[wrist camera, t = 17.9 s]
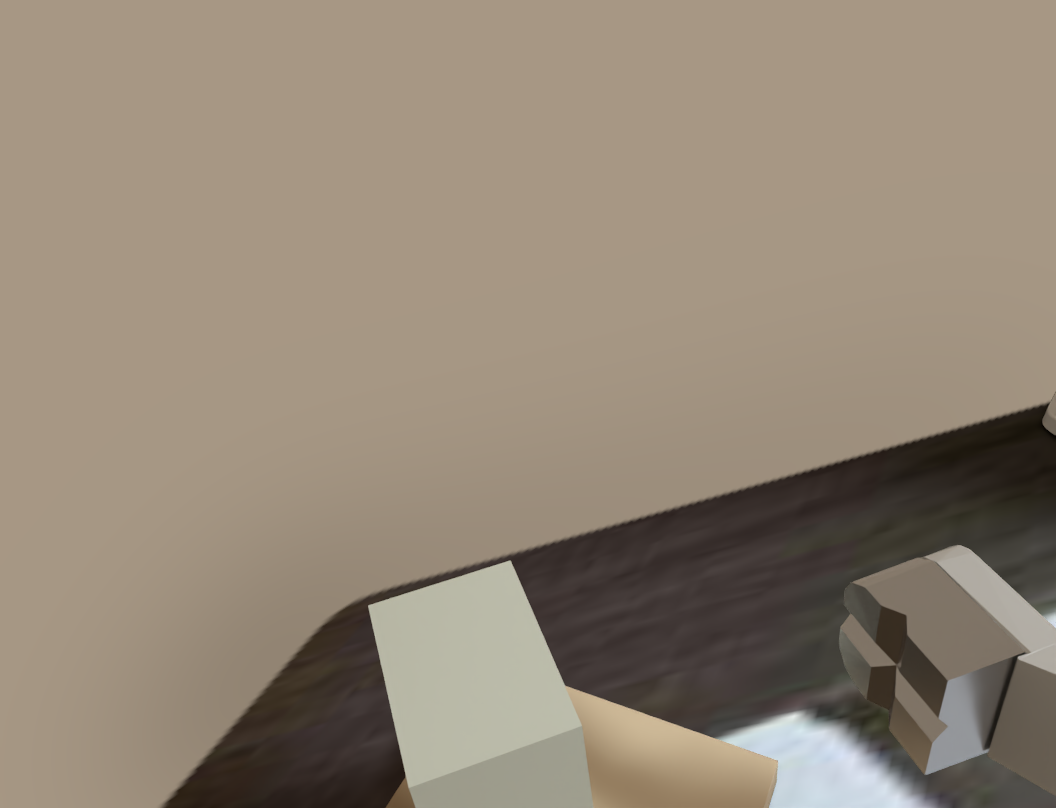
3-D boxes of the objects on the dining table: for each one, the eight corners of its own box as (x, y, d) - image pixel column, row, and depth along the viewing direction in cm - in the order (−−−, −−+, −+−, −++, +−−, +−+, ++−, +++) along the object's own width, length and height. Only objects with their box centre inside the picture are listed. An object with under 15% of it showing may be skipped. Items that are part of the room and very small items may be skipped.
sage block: (545, 756, 37) (508, 554, 30) (610, 927, 31) (582, 725, 24) (431, 797, 36) (366, 599, 29) (476, 981, 30) (408, 788, 24)
